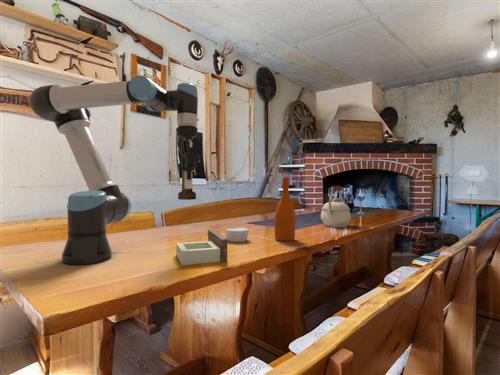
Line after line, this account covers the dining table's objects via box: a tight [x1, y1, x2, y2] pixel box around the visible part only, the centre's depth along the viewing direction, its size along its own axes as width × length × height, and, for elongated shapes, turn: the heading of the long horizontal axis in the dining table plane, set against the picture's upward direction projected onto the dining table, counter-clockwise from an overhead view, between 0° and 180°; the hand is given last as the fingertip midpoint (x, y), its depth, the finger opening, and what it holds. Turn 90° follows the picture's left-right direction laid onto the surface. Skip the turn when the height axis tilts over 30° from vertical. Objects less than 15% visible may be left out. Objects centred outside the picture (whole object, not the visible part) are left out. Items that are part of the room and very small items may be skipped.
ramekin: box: [224, 227, 250, 243], centre depth 138 cm, size 11×11×5 cm
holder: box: [175, 240, 221, 266], centre depth 104 cm, size 13×13×4 cm
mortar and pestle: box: [177, 153, 197, 201], centre depth 112 cm, size 7×6×18 cm
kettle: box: [320, 185, 352, 228], centre depth 186 cm, size 25×18×25 cm
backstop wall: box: [207, 229, 228, 263], centre depth 110 cm, size 2×20×8 cm, turn 21°
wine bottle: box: [274, 176, 296, 242], centre depth 140 cm, size 10×10×30 cm
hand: (187, 188), depth 112 cm, fingers closed on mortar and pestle, 4 cm apart
